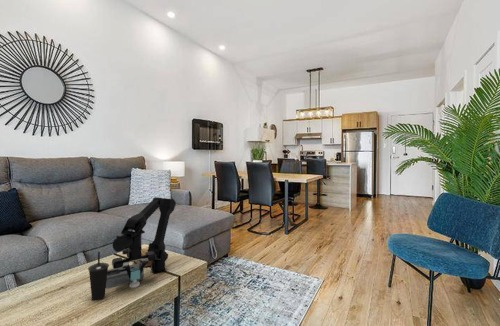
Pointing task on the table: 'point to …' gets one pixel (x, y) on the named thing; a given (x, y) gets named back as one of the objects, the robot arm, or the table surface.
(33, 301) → the table surface
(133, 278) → the peg
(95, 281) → the drinking cup
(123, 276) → the keyhole plate
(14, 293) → the table surface
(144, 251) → the bread roll
